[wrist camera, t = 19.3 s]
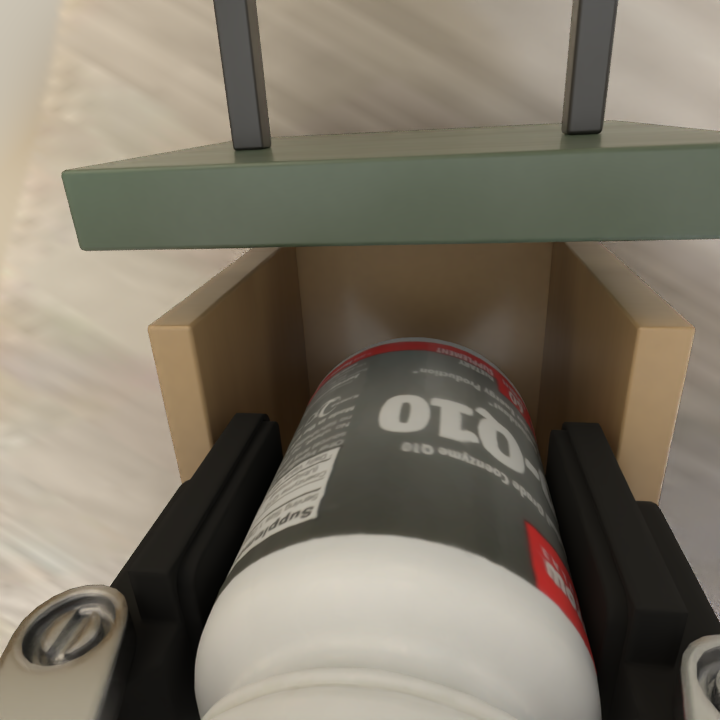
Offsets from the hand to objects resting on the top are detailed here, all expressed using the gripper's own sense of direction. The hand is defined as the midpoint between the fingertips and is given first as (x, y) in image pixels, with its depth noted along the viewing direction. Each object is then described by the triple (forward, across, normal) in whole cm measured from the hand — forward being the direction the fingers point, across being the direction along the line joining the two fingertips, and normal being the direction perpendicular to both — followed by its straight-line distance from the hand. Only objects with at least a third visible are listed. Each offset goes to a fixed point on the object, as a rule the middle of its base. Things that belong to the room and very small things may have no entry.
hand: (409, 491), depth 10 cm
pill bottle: (+2, 0, 0) cm, 2 cm away
